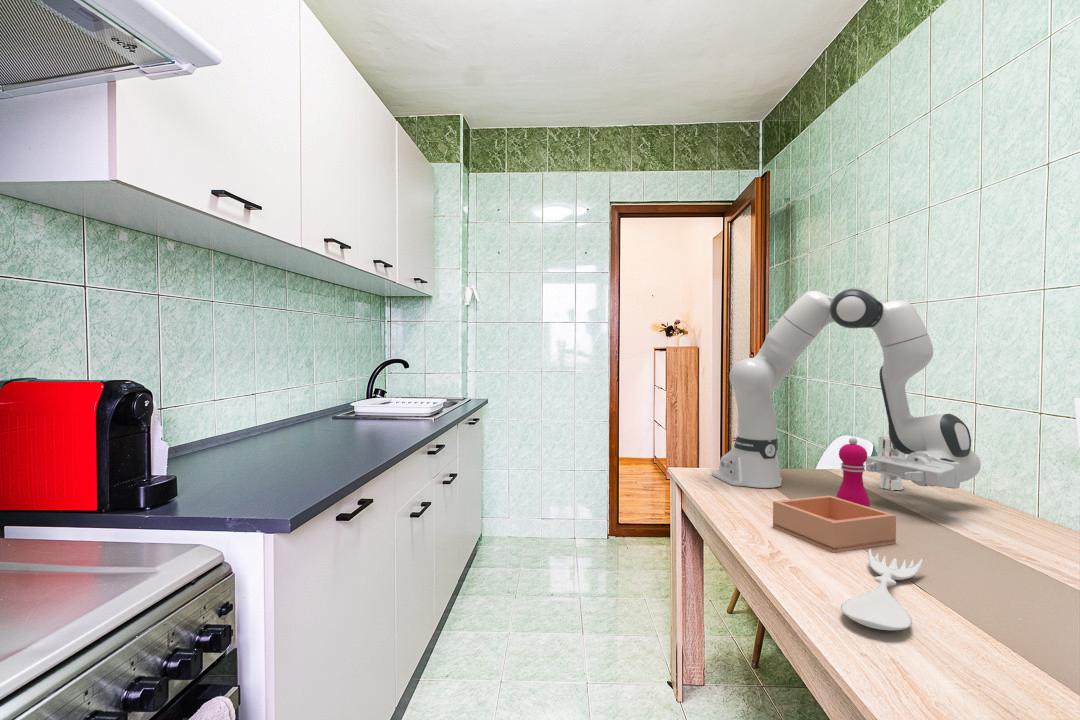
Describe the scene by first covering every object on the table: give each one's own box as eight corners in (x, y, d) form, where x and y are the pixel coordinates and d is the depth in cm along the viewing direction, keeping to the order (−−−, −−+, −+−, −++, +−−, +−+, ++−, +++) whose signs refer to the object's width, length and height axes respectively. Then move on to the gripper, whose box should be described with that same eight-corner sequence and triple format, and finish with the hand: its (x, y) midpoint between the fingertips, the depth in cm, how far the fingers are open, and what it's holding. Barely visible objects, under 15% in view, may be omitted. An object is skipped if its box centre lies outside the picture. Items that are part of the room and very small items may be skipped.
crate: (772, 527, 126) (773, 501, 126) (829, 520, 132) (829, 495, 132) (833, 552, 110) (834, 523, 110) (895, 543, 116) (896, 515, 115)
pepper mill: (860, 515, 135) (861, 435, 135) (875, 525, 128) (876, 440, 128) (830, 514, 136) (831, 435, 136) (843, 524, 129) (844, 439, 128)
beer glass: (872, 487, 165) (872, 437, 165) (886, 484, 168) (887, 436, 168) (895, 492, 158) (896, 441, 158) (910, 489, 161) (910, 439, 161)
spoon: (924, 575, 99) (924, 557, 99) (908, 650, 74) (908, 625, 74) (867, 563, 105) (867, 546, 105) (834, 629, 80) (834, 605, 80)
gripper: (887, 449, 150) (849, 452, 145) (966, 463, 130) (925, 467, 126) (887, 472, 150) (849, 475, 145) (966, 490, 130) (925, 494, 126)
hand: (885, 471), depth 135 cm, fingers open, 8 cm apart
